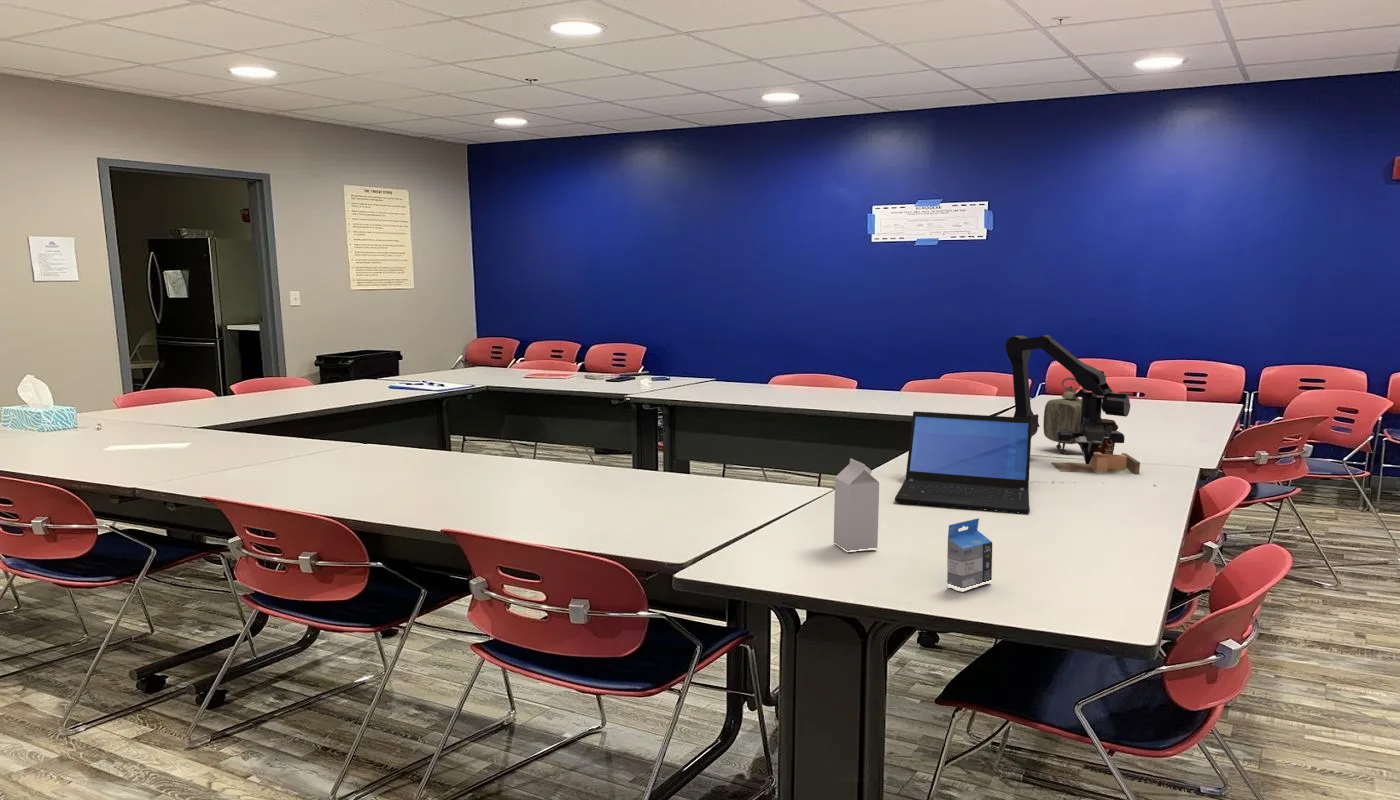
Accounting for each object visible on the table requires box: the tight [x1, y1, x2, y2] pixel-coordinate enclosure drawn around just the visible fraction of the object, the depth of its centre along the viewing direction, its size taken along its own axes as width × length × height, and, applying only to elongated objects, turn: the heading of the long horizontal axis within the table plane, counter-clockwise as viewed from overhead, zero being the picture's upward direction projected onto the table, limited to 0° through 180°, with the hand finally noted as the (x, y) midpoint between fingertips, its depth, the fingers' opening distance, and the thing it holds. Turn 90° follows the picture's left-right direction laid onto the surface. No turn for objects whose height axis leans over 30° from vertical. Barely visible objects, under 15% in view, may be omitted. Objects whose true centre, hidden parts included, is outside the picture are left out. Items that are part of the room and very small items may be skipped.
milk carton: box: [833, 458, 880, 551], centre depth 203 cm, size 7×7×19 cm
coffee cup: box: [1095, 418, 1119, 455], centre depth 300 cm, size 9×8×13 cm
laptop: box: [894, 410, 1032, 514], centre depth 254 cm, size 33×38×19 cm
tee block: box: [1089, 452, 1127, 471], centre depth 283 cm, size 9×9×4 cm
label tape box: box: [946, 517, 993, 588], centre depth 179 cm, size 9×4×12 cm, turn 126°
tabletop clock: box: [1043, 377, 1088, 454], centre depth 312 cm, size 14×9×25 cm, turn 30°
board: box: [1050, 452, 1141, 475], centre depth 283 cm, size 22×14×4 cm, turn 82°
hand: (1087, 464), depth 284 cm, fingers closed
